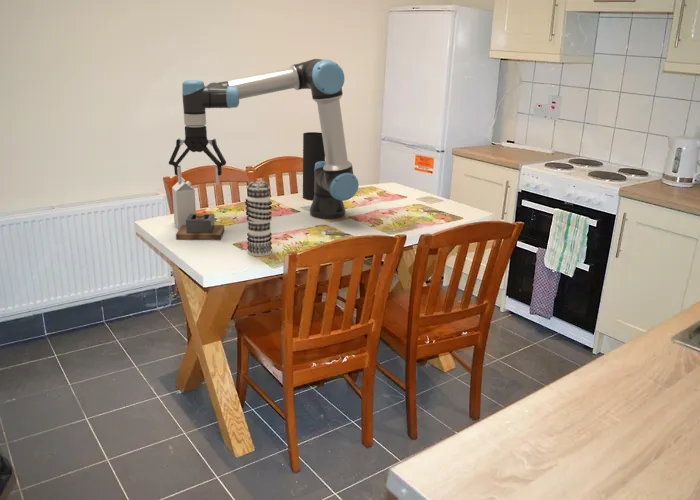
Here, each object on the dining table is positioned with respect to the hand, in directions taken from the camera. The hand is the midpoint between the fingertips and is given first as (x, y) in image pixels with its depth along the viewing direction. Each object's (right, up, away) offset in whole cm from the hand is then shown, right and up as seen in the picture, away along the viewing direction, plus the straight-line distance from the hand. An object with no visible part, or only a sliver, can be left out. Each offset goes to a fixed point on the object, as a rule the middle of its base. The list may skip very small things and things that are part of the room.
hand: (198, 184), depth 223 cm
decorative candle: (+24, -25, -9) cm, 36 cm away
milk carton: (-9, -15, +17) cm, 24 cm away
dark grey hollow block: (-1, -17, +6) cm, 18 cm away
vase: (+38, 0, +65) cm, 75 cm away
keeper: (-1, -18, +6) cm, 20 cm away
